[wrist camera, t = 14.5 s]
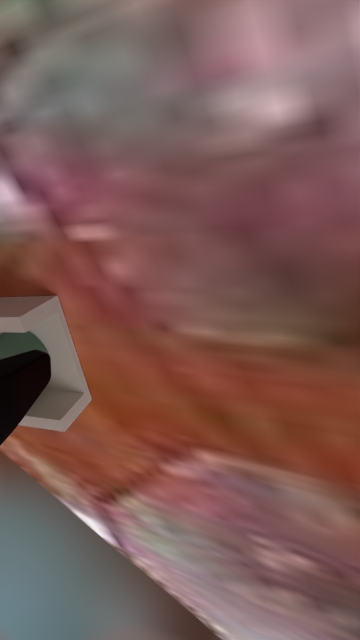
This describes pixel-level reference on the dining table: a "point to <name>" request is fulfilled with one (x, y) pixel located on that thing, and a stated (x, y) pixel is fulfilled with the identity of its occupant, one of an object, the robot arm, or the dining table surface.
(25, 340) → the glass bottle
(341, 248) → the dining table surface
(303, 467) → the dining table surface
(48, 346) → the u rest
